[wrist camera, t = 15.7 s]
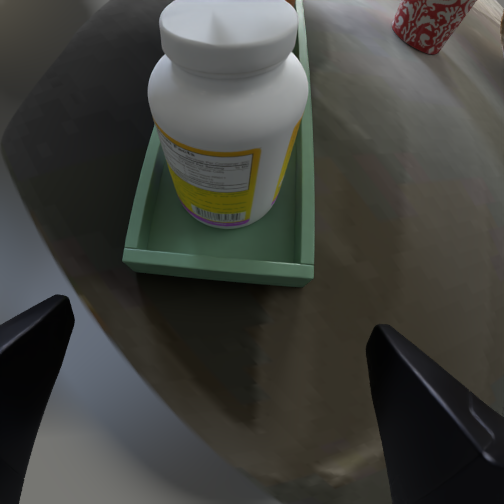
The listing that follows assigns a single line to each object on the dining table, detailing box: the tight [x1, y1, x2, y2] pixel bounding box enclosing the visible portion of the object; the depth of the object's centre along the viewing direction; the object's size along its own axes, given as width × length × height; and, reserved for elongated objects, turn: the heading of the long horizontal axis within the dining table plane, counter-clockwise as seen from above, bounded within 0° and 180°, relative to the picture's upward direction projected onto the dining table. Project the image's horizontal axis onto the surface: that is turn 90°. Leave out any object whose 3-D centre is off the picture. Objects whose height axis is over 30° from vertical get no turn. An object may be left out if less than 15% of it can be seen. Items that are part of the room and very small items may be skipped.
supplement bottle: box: [148, 0, 308, 229], centre depth 14 cm, size 7×7×13 cm
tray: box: [122, 0, 314, 287], centre depth 22 cm, size 32×11×3 cm, turn 176°
